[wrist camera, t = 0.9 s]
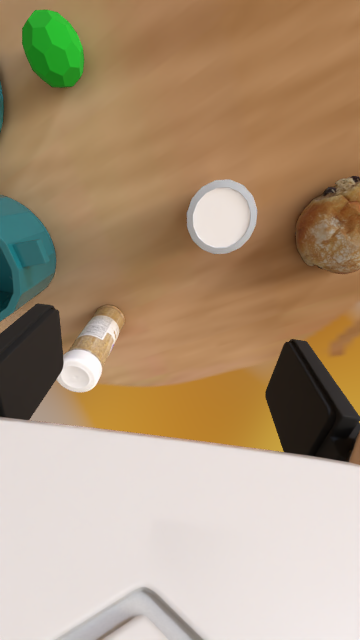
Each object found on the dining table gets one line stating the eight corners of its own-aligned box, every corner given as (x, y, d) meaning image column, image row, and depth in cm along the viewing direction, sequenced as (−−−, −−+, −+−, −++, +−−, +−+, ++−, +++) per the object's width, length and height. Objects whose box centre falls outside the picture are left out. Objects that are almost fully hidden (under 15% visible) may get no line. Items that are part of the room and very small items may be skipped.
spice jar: (122, 334, 40) (94, 398, 29) (93, 326, 40) (51, 388, 28) (128, 308, 38) (99, 366, 26) (97, 300, 38) (54, 355, 26)
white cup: (248, 233, 33) (261, 245, 27) (194, 246, 34) (194, 261, 28) (240, 171, 30) (253, 169, 23) (181, 188, 31) (178, 190, 24)
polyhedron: (63, 11, 24) (36, -24, 20) (101, 67, 26) (83, 46, 22) (29, 57, 26) (-2, 33, 22) (68, 107, 28) (45, 94, 23)
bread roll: (276, 237, 36) (283, 278, 31) (322, 158, 28) (340, 197, 23) (343, 254, 37) (360, 296, 32) (407, 181, 29) (441, 223, 24)
